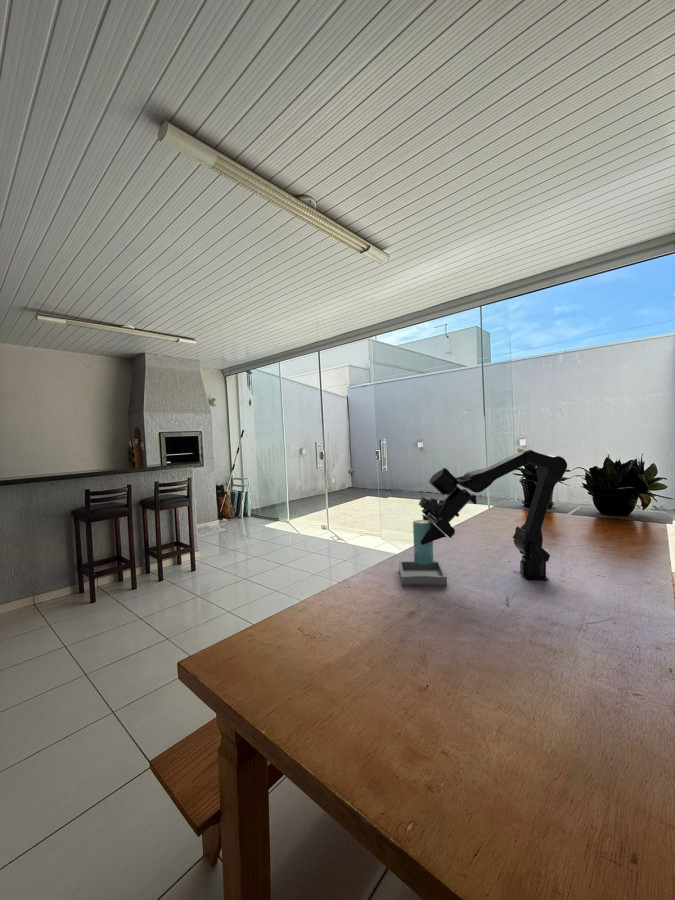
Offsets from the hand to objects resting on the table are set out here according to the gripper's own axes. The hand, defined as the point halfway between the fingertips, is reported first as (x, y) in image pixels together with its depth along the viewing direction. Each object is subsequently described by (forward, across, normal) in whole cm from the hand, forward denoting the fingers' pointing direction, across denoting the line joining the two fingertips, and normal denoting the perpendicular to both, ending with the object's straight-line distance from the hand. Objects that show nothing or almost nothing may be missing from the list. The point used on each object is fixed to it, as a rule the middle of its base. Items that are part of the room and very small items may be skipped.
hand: (419, 540), depth 122 cm
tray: (+8, -2, +10) cm, 13 cm away
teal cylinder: (+4, 0, +6) cm, 7 cm away
